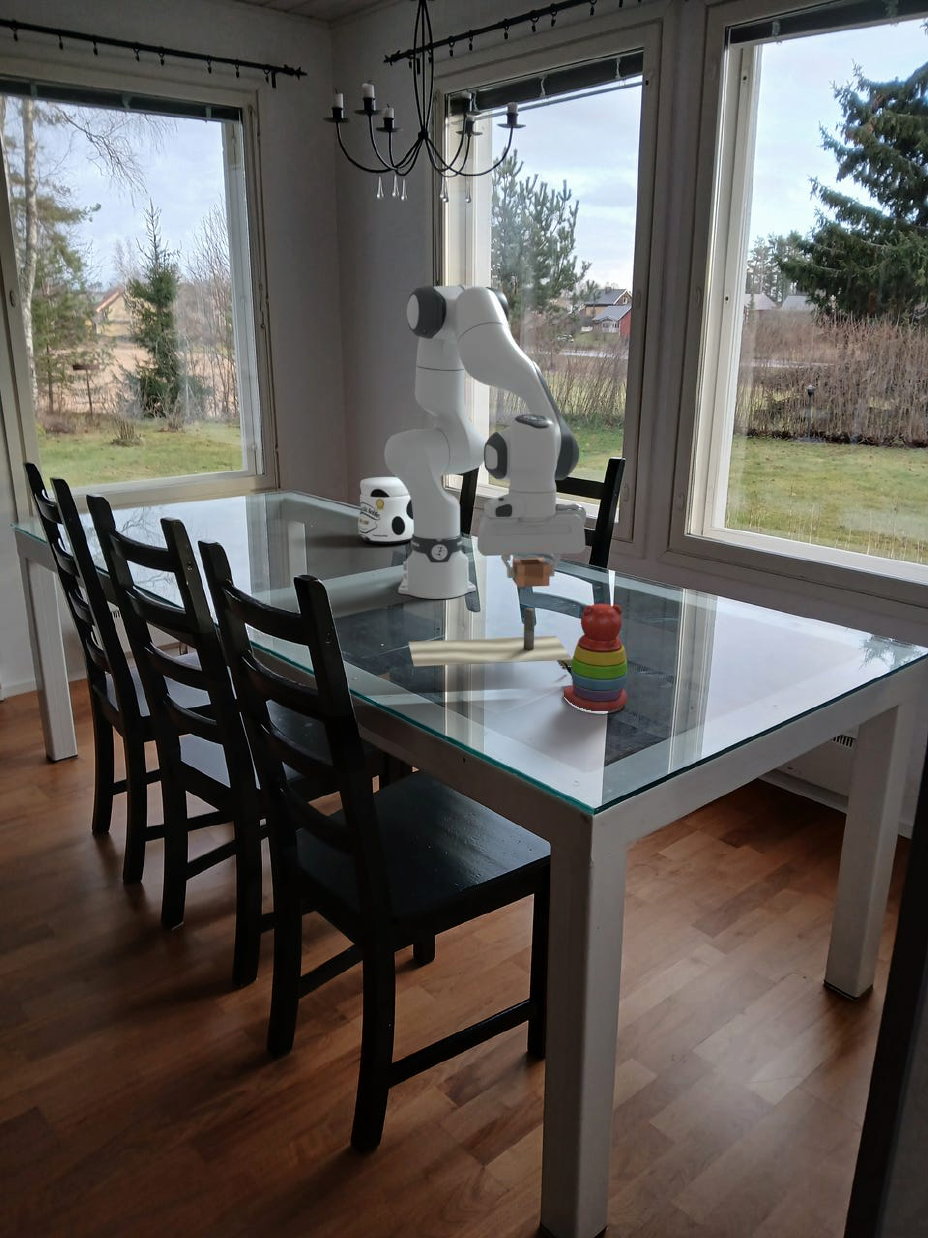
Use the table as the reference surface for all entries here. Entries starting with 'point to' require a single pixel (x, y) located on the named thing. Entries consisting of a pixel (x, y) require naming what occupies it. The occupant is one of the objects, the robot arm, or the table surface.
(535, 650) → the board
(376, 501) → the milk container
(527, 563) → the bead
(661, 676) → the table surface
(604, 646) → the stacking bear
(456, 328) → the robot arm
